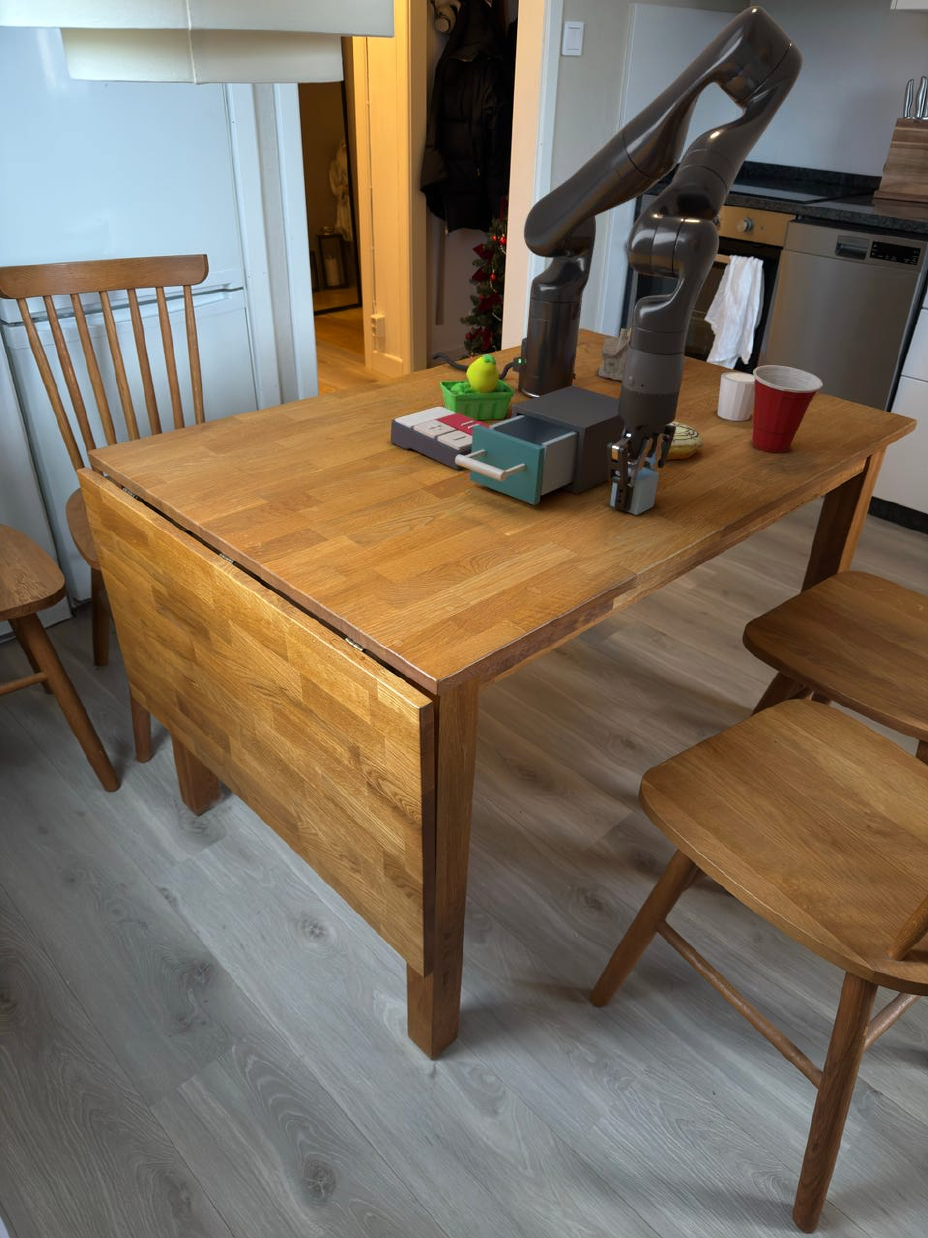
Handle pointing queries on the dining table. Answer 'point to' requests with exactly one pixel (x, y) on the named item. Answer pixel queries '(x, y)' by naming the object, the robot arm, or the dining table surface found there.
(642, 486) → the blue block
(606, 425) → the cabinet
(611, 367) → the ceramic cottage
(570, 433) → the drawer
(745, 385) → the white faceted cylinder
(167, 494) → the dining table surface
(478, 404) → the fruit basket
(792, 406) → the plastic cup
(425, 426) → the calculator
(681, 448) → the decorated donut
